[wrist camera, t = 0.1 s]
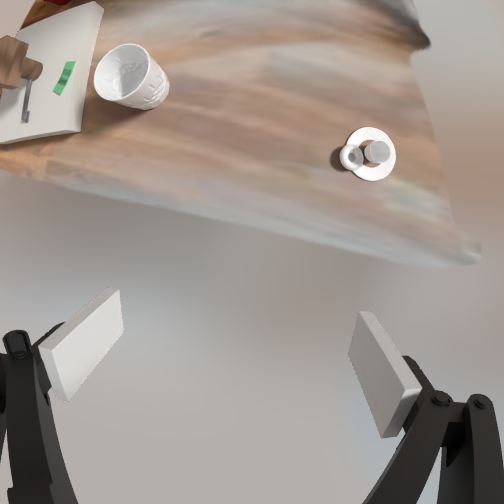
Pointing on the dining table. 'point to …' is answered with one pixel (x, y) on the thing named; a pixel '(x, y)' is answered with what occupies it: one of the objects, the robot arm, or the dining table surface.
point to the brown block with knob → (17, 67)
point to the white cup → (131, 78)
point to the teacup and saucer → (369, 154)
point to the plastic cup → (58, 1)
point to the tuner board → (53, 76)
